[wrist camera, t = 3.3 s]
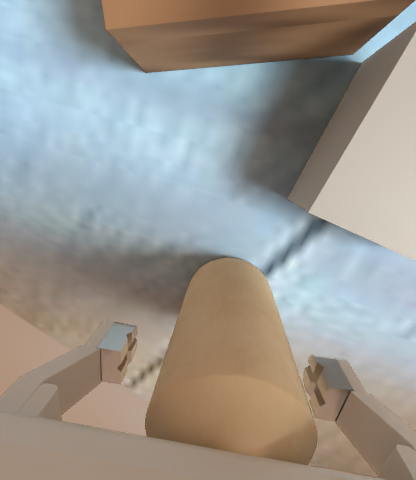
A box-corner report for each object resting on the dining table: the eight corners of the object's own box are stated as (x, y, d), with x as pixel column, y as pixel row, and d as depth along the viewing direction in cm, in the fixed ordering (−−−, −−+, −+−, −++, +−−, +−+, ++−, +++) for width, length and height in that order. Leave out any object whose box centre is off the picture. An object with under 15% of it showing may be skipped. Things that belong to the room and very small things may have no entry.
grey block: (482, 125, 11) (609, 107, 8) (390, 245, 14) (452, 277, 10) (358, 65, 11) (426, 13, 7) (285, 198, 13) (308, 212, 10)
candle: (179, 314, 16) (111, 523, 7) (200, 245, 14) (147, 402, 5) (253, 336, 16) (285, 574, 7) (283, 270, 14) (384, 473, 5)
